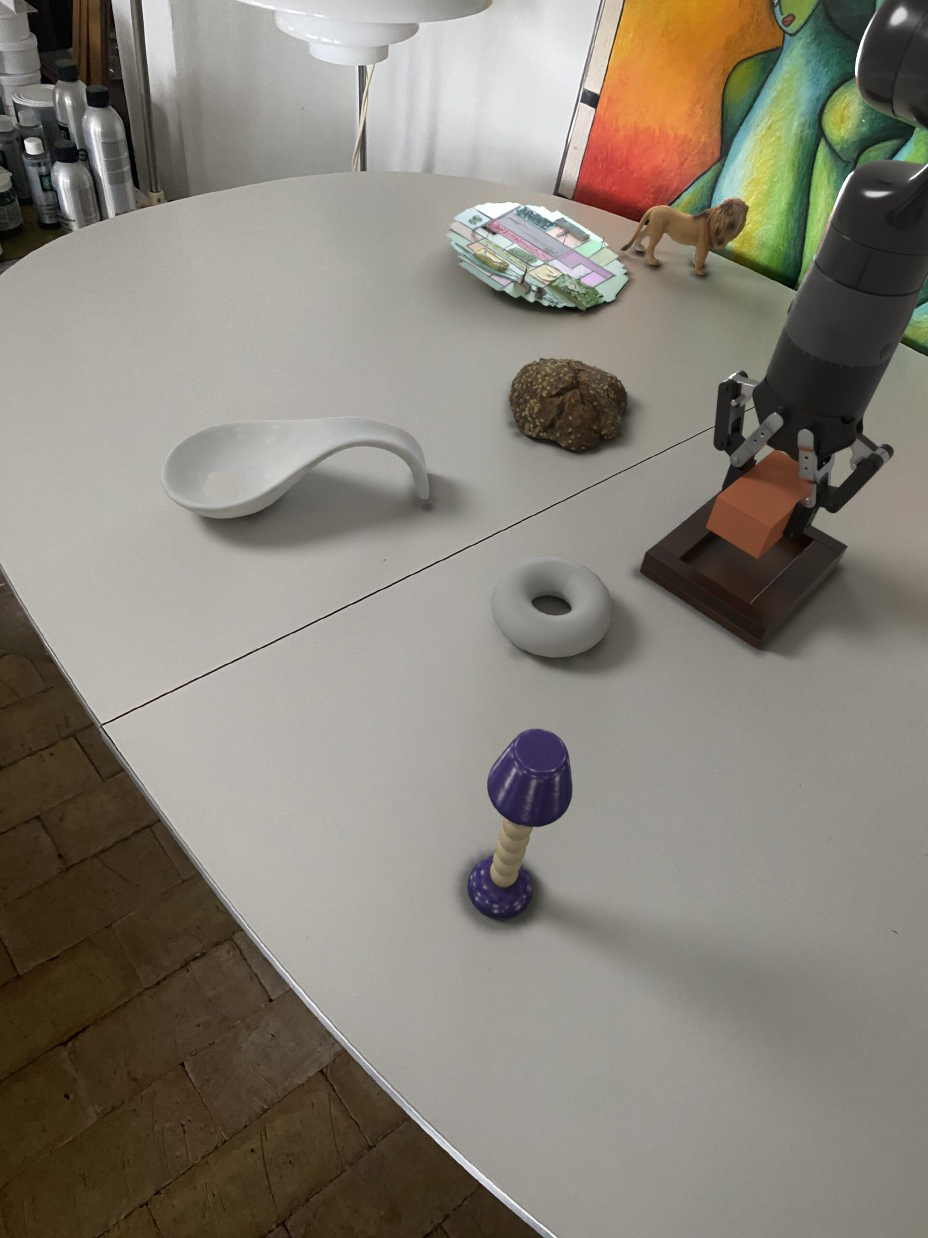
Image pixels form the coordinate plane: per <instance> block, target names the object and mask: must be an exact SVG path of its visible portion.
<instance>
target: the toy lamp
mask: <svg viewBox="0 0 928 1238" xmlns="http://www.w3.org/2000/svg"><path fill="white" fill-rule="evenodd" d="M486 782H487V783H486V784H487V785H486V790H487V795H488V798H489V801H490V802H491V804H492V806H493V808H494V809H495V810H496V811H497V813H498V814H499V815H500V816H502V817H503V819H502V826H501V827H500V829H499V833H498V840H497V842H496V845H495V852H494V854H493V855H489V856H487V857H484V858H482V859H481V860H480V861H478V862H477V863H476V864H475V866H473V868H472V869H471V871H470V873H469V875H468V879H467V893H468V897H469V899H470V901H471V904H472V905H473V906H474V907H475V909H476V910H477V911H479V912H480V913H481V914H483V915H484V916H488V917H489V918H491V919H494V920H509V919H513V918H515V917H517V916H519V915H520V914H521V913H523V912H524V911H525V910H526V909H527V907H528V906H529V904H530V902H531V899H532V896H533V883H532V879H531V875H530V873H529V871H528V870H527V868H526V867H525V866H524V865H523V859H524V857H525V855H526V852H527V851H526V850H527V847H528V845H529V843H530V838H531V837H530V836H531V834H532V832H533V829H534V828H542V827H546V826H548V825H551V824H553V823H555V822H556V821H558V820H560V819H561V818H562V817H563V816H564V815H565V813H566V812H567V811H568V809H569V807H570V804H571V802H572V798H573V789H574V788H573V778H572V768H571V759H570V754H569V751H568V748H567V745H566V743H565V742H564V740H562V738H561V737H560V736H558V735H557V734H556V733H554V732H552V731H551V730H547V729H544V728H529V729H526V730H524V731H522V732H519V734H518V735H517V736H515V737H514V738H513V739H512V741H510V743H509V744H508V745H507V746H506V748H505V749H504V750H503V752H502V753H501V754H500V755H499V756H498V757H497V758H496V760H495V762H494V763H493V764H492V766H491V768H490V770H489V772H488V776H487V781H486Z"/></svg>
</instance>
